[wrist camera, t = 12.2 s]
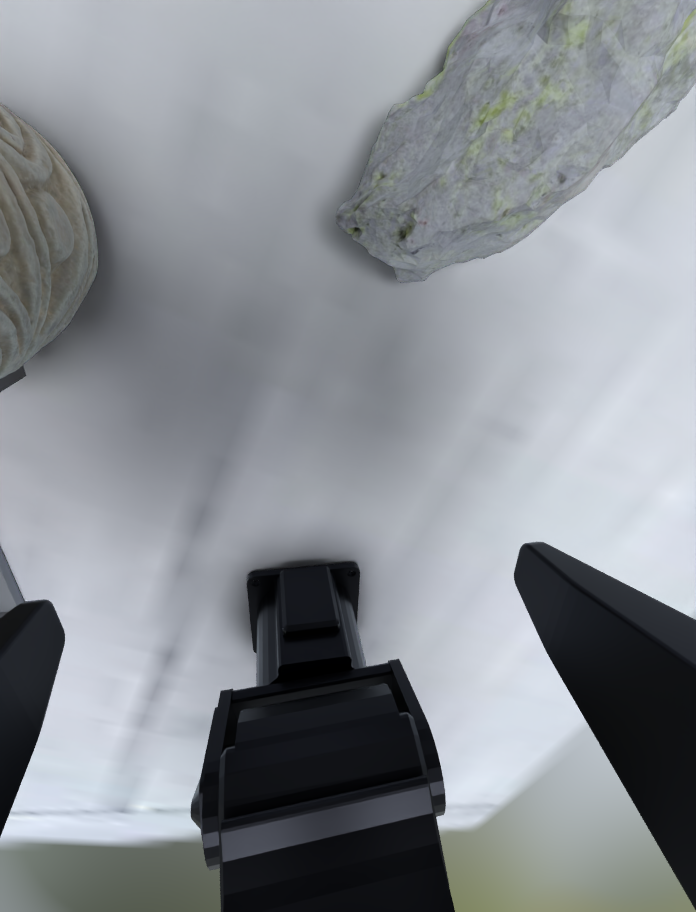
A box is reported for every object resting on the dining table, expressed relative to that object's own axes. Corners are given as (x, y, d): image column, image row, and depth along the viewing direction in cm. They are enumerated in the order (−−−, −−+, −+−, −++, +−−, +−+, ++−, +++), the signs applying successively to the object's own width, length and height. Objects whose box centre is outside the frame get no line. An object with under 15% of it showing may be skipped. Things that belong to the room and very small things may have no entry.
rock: (418, 335, 20) (484, 380, 14) (306, 203, 16) (331, 189, 11) (719, 43, 16) (971, -59, 11) (653, -193, 13) (963, -525, 7)
